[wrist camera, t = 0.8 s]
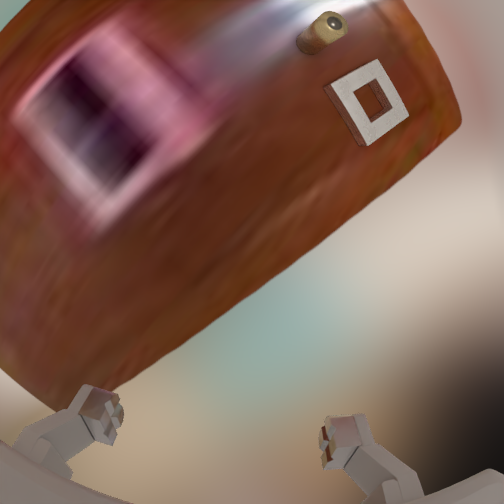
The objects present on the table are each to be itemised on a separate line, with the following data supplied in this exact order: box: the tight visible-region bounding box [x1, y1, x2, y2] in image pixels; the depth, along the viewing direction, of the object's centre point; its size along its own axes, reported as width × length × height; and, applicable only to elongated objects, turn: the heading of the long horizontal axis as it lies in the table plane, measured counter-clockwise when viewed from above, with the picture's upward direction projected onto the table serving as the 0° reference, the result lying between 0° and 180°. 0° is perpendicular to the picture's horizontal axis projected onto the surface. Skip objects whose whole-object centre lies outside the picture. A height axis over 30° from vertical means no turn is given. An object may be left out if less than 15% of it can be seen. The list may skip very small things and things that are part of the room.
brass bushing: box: [296, 11, 348, 55], centre depth 33 cm, size 4×4×10 cm
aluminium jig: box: [323, 59, 409, 146], centre depth 41 cm, size 12×12×3 cm
